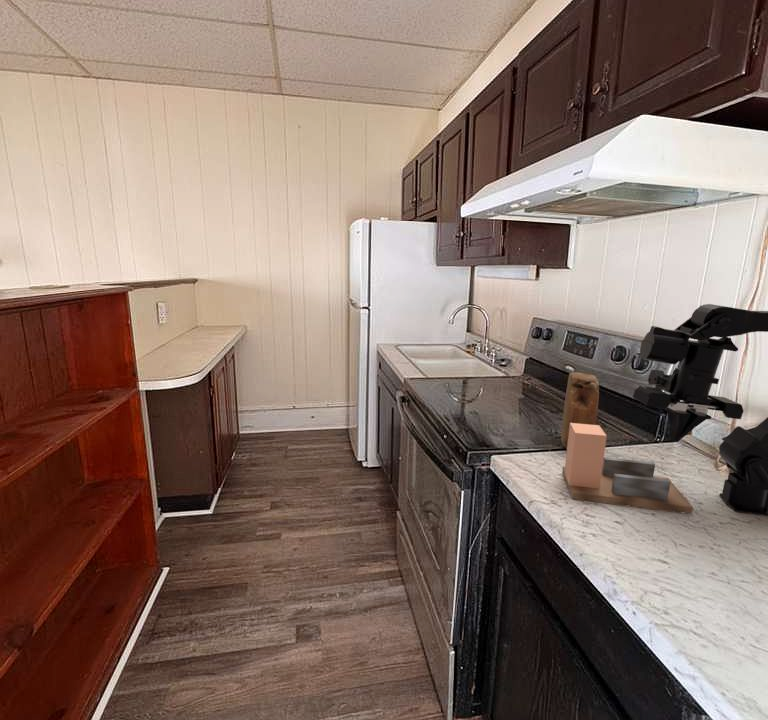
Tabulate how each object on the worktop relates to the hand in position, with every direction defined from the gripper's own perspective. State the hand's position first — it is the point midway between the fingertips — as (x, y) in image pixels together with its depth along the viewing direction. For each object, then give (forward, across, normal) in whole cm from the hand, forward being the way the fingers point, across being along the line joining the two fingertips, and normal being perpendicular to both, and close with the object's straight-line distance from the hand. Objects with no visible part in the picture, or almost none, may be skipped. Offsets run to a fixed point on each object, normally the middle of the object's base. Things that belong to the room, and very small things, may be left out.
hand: (674, 440), depth 86 cm
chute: (+14, +7, -1) cm, 15 cm away
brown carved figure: (+14, +7, -24) cm, 29 cm away
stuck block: (+13, +15, -3) cm, 20 cm away
